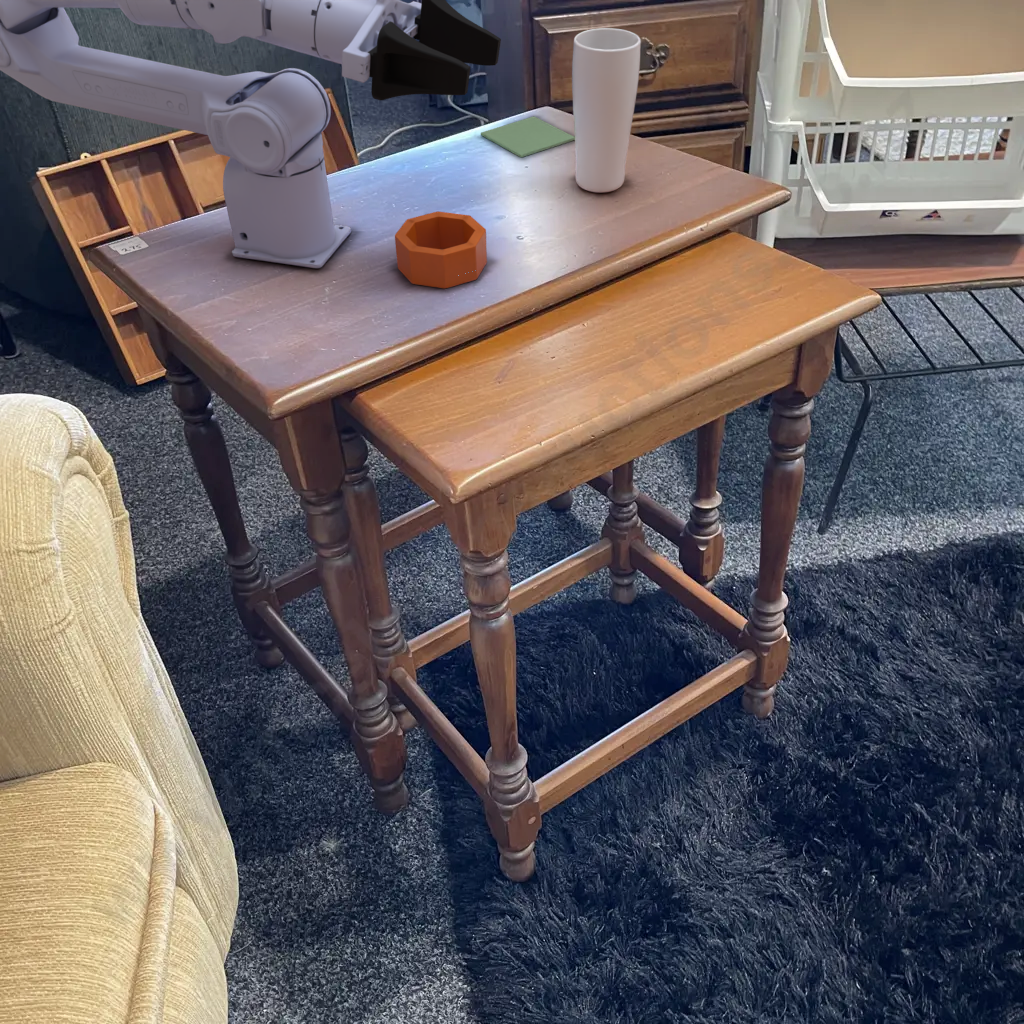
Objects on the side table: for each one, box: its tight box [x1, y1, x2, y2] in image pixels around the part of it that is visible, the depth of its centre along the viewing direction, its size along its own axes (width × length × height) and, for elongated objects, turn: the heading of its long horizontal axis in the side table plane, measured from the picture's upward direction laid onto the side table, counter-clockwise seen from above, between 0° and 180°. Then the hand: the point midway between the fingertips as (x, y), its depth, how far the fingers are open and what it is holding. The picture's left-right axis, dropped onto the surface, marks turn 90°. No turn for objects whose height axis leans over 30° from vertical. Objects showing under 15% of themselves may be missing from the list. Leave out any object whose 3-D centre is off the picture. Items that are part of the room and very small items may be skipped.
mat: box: [480, 115, 575, 158], centre depth 116 cm, size 8×8×1 cm
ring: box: [394, 210, 488, 289], centre depth 94 cm, size 8×8×4 cm
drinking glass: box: [571, 27, 642, 194], centre depth 102 cm, size 7×7×15 cm
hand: (483, 66), depth 80 cm, fingers open, 7 cm apart
